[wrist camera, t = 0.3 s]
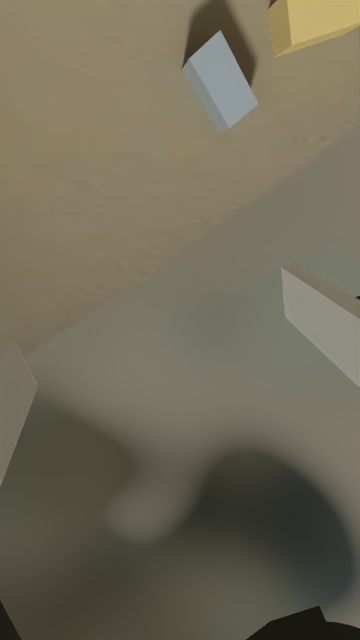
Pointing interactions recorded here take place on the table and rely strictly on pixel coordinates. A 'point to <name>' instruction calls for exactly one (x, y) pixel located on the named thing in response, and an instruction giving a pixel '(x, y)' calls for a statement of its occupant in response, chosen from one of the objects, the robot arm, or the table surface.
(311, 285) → the robot arm
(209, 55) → the slate brick
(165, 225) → the table surface
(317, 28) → the ochre brick
